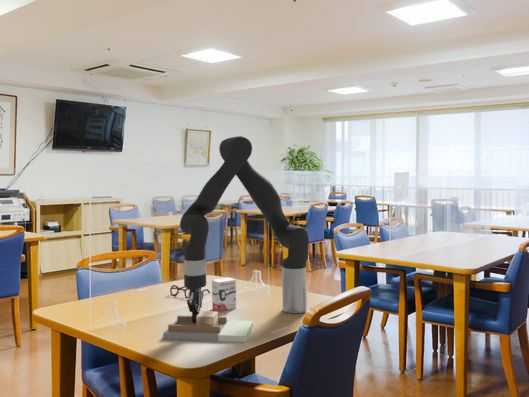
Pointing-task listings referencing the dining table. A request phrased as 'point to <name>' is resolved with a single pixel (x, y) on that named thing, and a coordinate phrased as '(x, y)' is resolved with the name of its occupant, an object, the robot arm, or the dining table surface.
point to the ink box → (223, 294)
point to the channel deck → (208, 330)
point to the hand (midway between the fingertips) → (195, 322)
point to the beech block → (207, 318)
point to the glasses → (183, 290)
